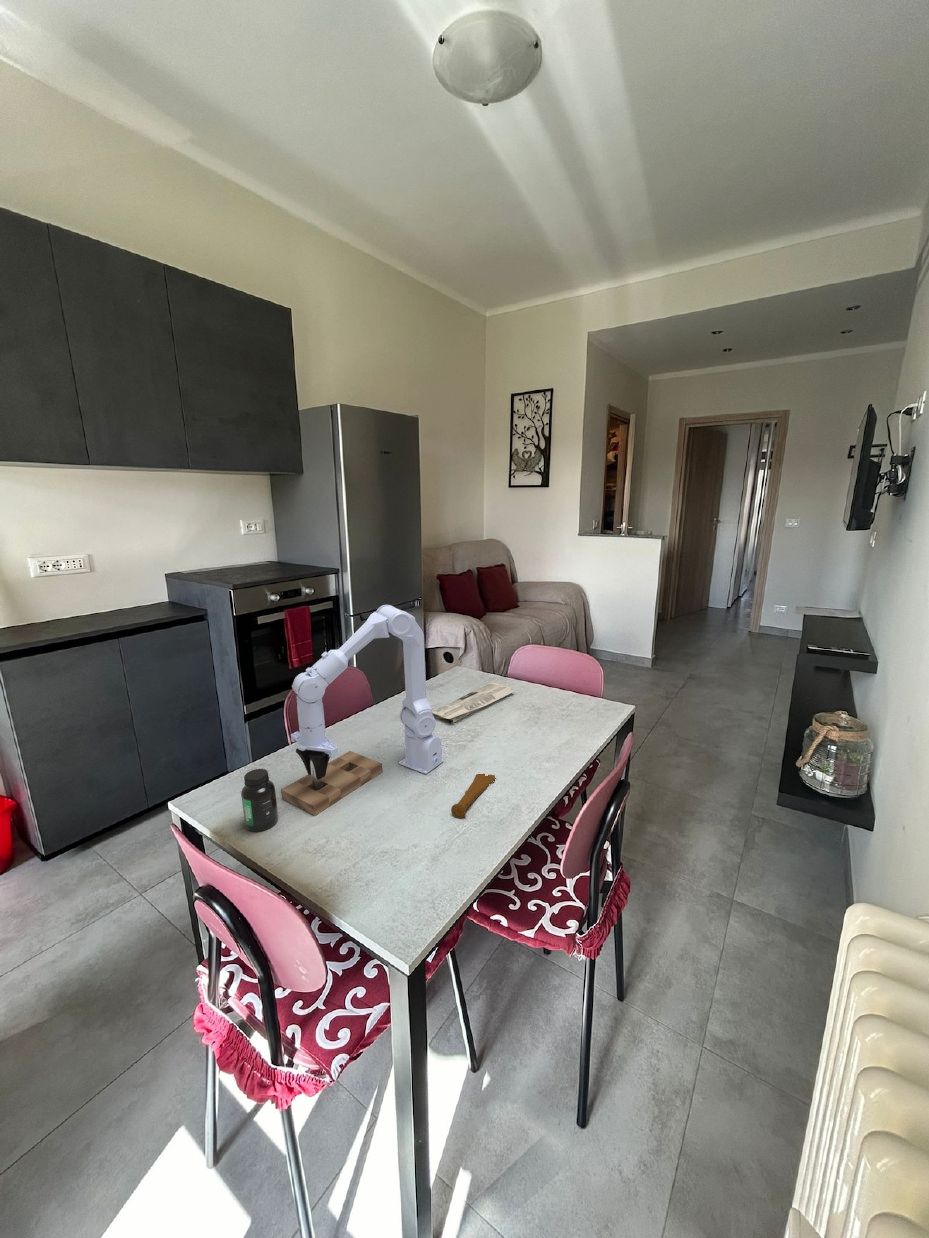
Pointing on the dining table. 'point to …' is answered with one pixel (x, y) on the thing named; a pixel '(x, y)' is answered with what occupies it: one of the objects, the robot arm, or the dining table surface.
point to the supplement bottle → (259, 801)
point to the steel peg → (315, 779)
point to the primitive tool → (472, 794)
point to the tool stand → (332, 783)
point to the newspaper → (472, 702)
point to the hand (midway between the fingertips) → (316, 775)
